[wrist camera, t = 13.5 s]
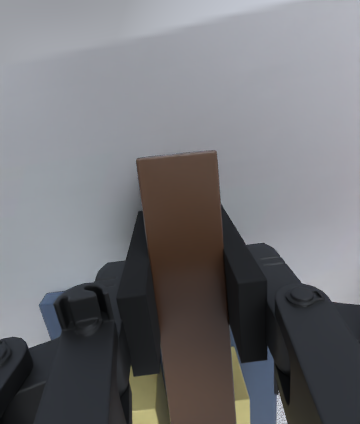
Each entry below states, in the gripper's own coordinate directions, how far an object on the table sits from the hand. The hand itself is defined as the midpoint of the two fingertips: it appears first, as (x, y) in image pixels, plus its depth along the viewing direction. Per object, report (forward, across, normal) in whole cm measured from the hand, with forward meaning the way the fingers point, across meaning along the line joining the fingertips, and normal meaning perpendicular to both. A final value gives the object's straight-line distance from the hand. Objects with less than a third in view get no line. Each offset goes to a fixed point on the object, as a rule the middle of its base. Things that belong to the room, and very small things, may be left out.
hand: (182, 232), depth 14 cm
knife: (-1, 0, -6) cm, 6 cm away
